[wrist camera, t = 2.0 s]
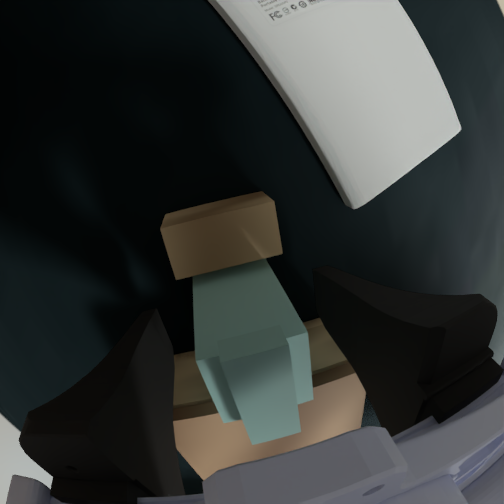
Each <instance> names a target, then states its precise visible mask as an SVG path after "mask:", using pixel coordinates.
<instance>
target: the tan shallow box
mask: <svg viewBox="0 0 504 504" xmlns="http://www.w3.org/2000/svg"><path fill="white" fill-rule="evenodd" d="M160 230H161V233H162V237H163V240H164V243H165V247H166V250H167V253H168V256H169V259H170V263H171V266H172V269H173V272H174V275H175V278H176V280H179V279H183V278H187V277H191V276H195V275H199V274H203V273H208V272H212V271H216V270H220V269H224V268H228V267H232V266H236V265H240V264H244V263H248V262H252V261H256V260H260V259H264V258H268V257H272V256H276V255H280V254H283V252H282V246H281V239H280V233H279V227H278V221H277V215H276V209H275V203H274V201H273V200H272V199H271V198H270V197H268V196H267V195H266V194H265V193H263V192H262V191H260V192H255V193H251V194H246V195H242V196H237V197H233V198H229V199H224V200H220V201H216V202H212V203H208V204H203V205H199V206H195V207H191V208H187V209H183V210H179V211H176V212H172V213H168V214H165V217H164V219H163V222H162V225H161V228H160ZM303 324H304V326H305V328H306V330H307V331H308V338H309V349H310V360H311V372H312V375H314V374H317V373H320V372H323V371H326V370H329V369H331V368H334V367H337V366H340V365H343V364H345V363H348V360H347V359H346V357H345V356H344V354H343V353H342V352H341V350H340V349H339V347H338V346H337V345H336V343H335V342H334V340H333V339H332V337H331V336H330V335H329V333H328V332H327V330H326V329H325V327H324V325H323V323H322V321H321V319H320V318H317V319H314V320H310V321H307V322H304V323H303ZM174 363H175V376H174V397H173V409H174V408H180V407H186V406H191V405H197V404H202V403H207V402H212V401H213V399H212V397H211V395H210V393H209V391H208V388H207V386H206V384H205V382H204V379H203V377H202V375H201V372H200V370H199V368H198V365H197V363H196V358H195V351H191V352H186V353H181V354H176V355H174Z"/></svg>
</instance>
